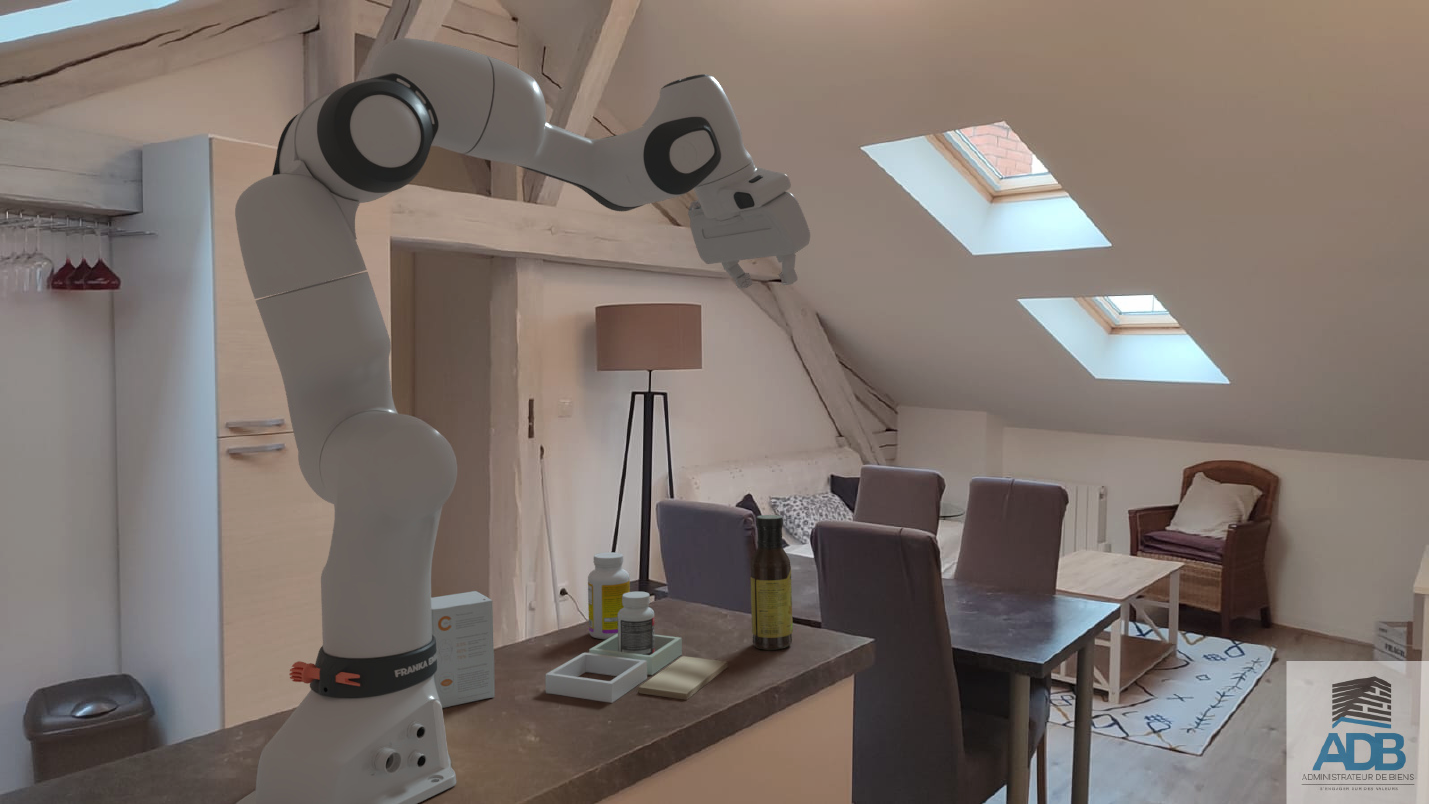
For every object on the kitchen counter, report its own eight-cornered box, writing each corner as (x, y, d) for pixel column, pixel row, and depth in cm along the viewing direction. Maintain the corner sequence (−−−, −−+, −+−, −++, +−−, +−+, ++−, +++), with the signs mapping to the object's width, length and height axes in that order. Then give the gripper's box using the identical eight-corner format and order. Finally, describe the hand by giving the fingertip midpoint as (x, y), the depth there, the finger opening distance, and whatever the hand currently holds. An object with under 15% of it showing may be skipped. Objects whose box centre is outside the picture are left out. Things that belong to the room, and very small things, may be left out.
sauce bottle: (800, 646, 147) (800, 517, 146) (768, 654, 144) (768, 521, 143) (774, 636, 153) (773, 511, 152) (742, 644, 149) (741, 515, 148)
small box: (479, 684, 132) (477, 589, 131) (495, 698, 127) (493, 599, 126) (419, 696, 127) (417, 598, 127) (434, 711, 122) (431, 609, 121)
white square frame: (612, 702, 124) (611, 683, 124) (545, 692, 128) (545, 674, 128) (647, 678, 134) (647, 660, 133) (584, 669, 137) (583, 652, 137)
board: (686, 699, 125) (686, 693, 125) (638, 692, 128) (638, 687, 128) (727, 667, 138) (727, 661, 138) (682, 661, 141) (682, 656, 141)
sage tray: (652, 675, 135) (651, 657, 135) (589, 666, 139) (589, 649, 139) (682, 654, 144) (681, 637, 144) (622, 646, 148) (622, 630, 148)
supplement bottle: (639, 632, 156) (638, 553, 155) (613, 643, 150) (612, 561, 149) (606, 626, 159) (605, 549, 158) (580, 636, 154) (578, 556, 153)
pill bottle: (661, 662, 141) (661, 595, 140) (629, 669, 138) (628, 601, 137) (643, 652, 145) (642, 588, 145) (611, 659, 142) (610, 593, 142)
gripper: (669, 211, 138) (706, 298, 143) (764, 192, 122) (803, 291, 127) (700, 194, 141) (735, 279, 146) (796, 173, 125) (833, 269, 130)
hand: (767, 284), depth 136 cm, fingers open, 8 cm apart
